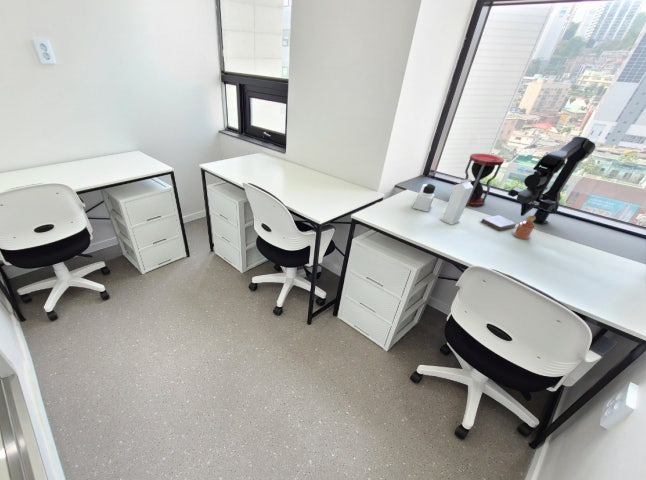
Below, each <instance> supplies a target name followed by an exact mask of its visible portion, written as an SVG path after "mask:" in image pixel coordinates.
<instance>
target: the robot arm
mask: <svg viewBox="0 0 646 480" xmlns="http://www.w3.org/2000/svg"><path fill="white" fill-rule="evenodd" d="M596 146H597V145H596V144H595V142H593V141H592V140H590V138H588V137H586V136H580V135H575V136H573V138H572V139H571V140H569V141H568V142H567V143H566V144H565V145H563V146H561V148H559V149H557V150H552V151H550V152H548V153H546V154H545V155H543V156H542V157H541V158H540V160H539V161H538V162H537V164H535V166H534V167H533V168H532V170H533V171H534V172H533V173H531V174H528V175H527V176H526V177H525V178H524V181H523V184H524V186H525V187H527V188H525V189H522V188H519V187H516V188H512V189H510V190H509V191H508V193H507V196H510V197H511V198H514V197H516V201H518V202H519V203H520V206H521V207H520V216H521V217H524V216H525V215H526V214H527V213H529V212H530V211H531V210H533V209H536V211H535V212H534V214H533V215H534V216H535V220H534V221H533V222H534V223H536V224H538V225H543V224H547V223H549V220H547V219H548V218H549V216H550V215H553V214H554V215H555V214H556V213H557V212H558V210H559V206H560V201H561V199H562V198H561V192H562V190H563V189H564V187H565V186H566V184H567V183H568V181H569V179H570V178H571V177H572V175H573V173H574V172H575V170H576V169H577V167H578V165H580V163H582V162H583V161H585V159H587V158H588V157H589V156H590V155H592V154H593V153H594V151H595V149H596V148H597V147H596ZM557 173H558V175H557V176H556V178H555V180H554V181H553V183H552V184H551V186H550V188H549V184H550V182H551V181H552V179H553V177H554V175H555V174H557ZM548 188H549V190H548ZM546 190H547V191H546ZM545 191H546V192H545Z"/></svg>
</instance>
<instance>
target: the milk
mask: <svg viewBox="0 0 646 480" xmlns="http://www.w3.org/2000/svg"><path fill="white" fill-rule="evenodd" d="M462 181H463V182H462ZM462 181H461V182H462V183H461V182H460V183H461V184H460V183H457V184H454V186H453V189H452V192H451V193H450V197H449V199H448V202H447V204H446V207H445V209H444V212H443V214H442V217H441V221H442V222H445V223H447V224H449V225H454V224H457V223H458V224H459V222H460V219H461V218H462V215H463V214H464V213H463V212H464V210H465V208H466V207H467V205H466V204H467V201H468V199H469V197H470V194H471V192H472V190H473V186H472V184H471V183H470V182H471V178H468V179H467V180H464V179H463V180H462Z"/></svg>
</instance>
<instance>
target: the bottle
mask: <svg viewBox="0 0 646 480" xmlns="http://www.w3.org/2000/svg"><path fill="white" fill-rule="evenodd" d="M534 220H535V216H534V214H530V215H528V216H527V218H526V220H523V221H521V222H519V224H518V225H517V228H516V229H515V231H514V233H513V236H514V237H515V238H518V239H521V240H528V239H529V237H530V236H531V234H532V233H533V231H534V230H535V224H534V223H533V222H534Z"/></svg>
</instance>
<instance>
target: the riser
mask: <svg viewBox="0 0 646 480" xmlns="http://www.w3.org/2000/svg"><path fill="white" fill-rule="evenodd" d="M480 223H482V224H483V225H486V226H487V227H490V228H491V229H493V230H496V231H497V232H499V231H504V230H508V229H512V228H515V227H516V226H517V223H516V222H514V221H512V220H510V219H508V218H506V217H504V216H501V215H499V214H498V215H492V216H487V217H483V218H481V221H480Z"/></svg>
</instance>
